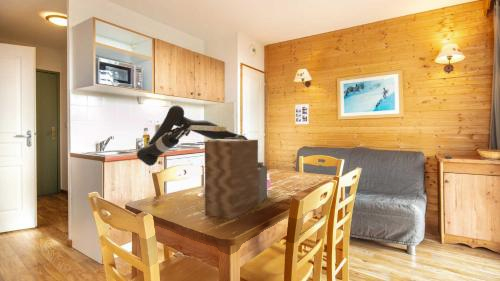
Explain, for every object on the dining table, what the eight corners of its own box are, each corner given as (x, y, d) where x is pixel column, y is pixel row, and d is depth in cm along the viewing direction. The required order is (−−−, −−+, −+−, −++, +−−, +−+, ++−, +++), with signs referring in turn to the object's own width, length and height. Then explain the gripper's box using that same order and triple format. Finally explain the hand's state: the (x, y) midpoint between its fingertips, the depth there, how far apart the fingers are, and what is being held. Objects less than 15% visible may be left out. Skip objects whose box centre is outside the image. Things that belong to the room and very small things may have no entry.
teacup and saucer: (206, 192, 158) (206, 185, 158) (215, 194, 153) (215, 187, 153) (194, 195, 151) (194, 188, 151) (204, 198, 146) (204, 190, 146)
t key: (177, 129, 126) (177, 124, 126) (188, 129, 133) (188, 125, 133) (216, 131, 116) (216, 126, 116) (226, 131, 123) (226, 126, 123)
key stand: (205, 214, 118) (204, 138, 116) (233, 200, 139) (233, 136, 137) (232, 219, 111) (232, 139, 110) (257, 204, 133) (257, 137, 131)
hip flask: (259, 204, 133) (260, 164, 132) (252, 203, 134) (252, 164, 133) (267, 196, 148) (267, 160, 147) (260, 196, 149) (260, 160, 148)
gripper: (153, 135, 129) (177, 117, 122) (174, 134, 142) (196, 118, 134) (159, 149, 128) (183, 131, 121) (179, 147, 140) (202, 131, 133)
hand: (190, 124), depth 127 cm, fingers closed on t key, 2 cm apart
